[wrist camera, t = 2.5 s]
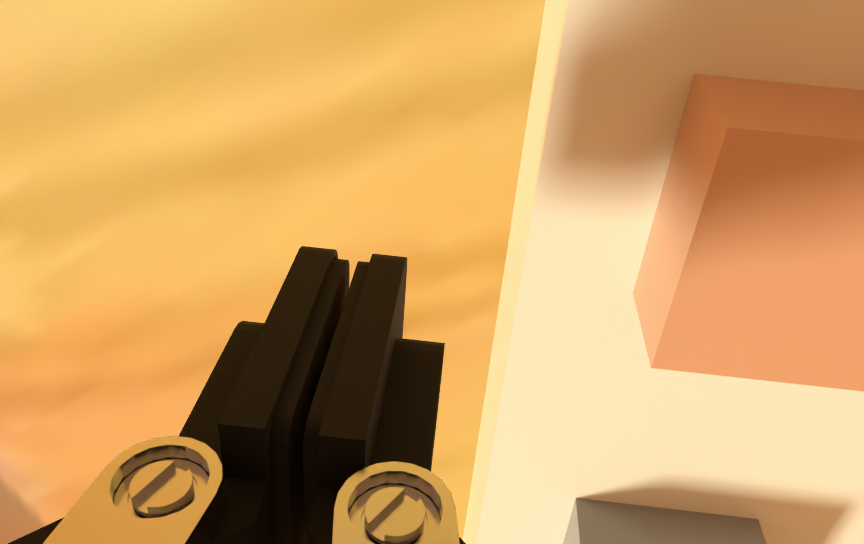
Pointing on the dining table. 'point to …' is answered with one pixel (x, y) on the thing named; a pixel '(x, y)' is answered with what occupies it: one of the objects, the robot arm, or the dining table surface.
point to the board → (615, 280)
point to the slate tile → (655, 525)
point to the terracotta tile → (760, 237)
